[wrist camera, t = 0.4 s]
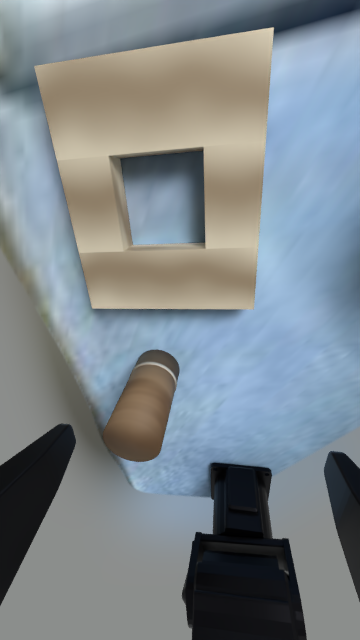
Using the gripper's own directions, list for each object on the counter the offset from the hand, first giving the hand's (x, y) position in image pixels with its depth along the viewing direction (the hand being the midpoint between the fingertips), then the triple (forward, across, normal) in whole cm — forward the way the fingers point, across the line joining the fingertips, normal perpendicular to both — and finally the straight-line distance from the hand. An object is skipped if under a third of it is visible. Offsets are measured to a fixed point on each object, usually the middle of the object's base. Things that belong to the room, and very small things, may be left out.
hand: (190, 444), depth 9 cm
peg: (+13, +5, +7) cm, 15 cm away
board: (+13, +3, -7) cm, 15 cm away
